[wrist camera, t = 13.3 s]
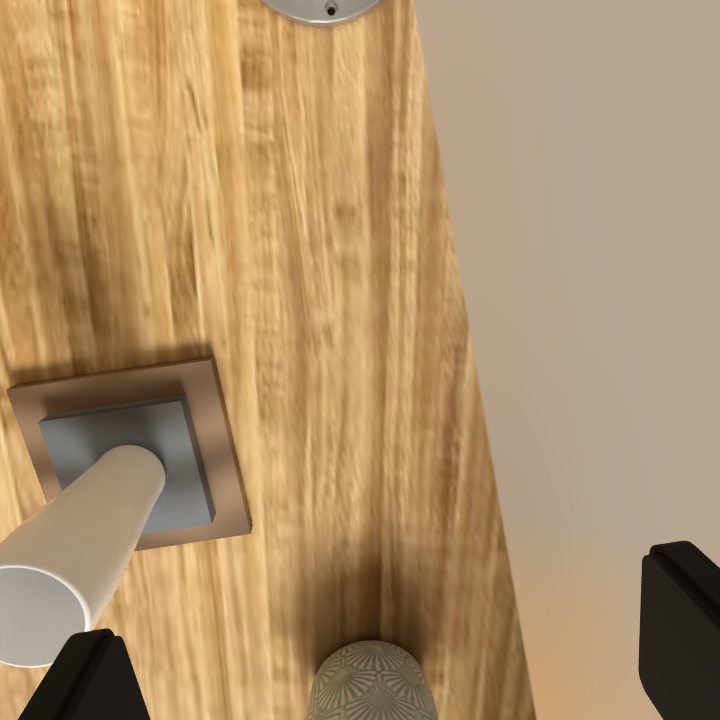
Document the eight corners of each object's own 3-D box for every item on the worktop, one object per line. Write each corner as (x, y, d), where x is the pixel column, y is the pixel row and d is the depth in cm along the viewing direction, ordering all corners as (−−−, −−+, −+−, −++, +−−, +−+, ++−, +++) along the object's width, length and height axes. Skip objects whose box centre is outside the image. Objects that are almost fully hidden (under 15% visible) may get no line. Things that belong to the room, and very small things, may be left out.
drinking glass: (194, 469, 40) (118, 613, 26) (141, 524, 41) (40, 691, 27) (124, 416, 38) (2, 537, 24) (72, 474, 40) (-76, 623, 25)
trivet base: (15, 384, 40) (-7, 396, 37) (213, 355, 40) (205, 365, 38) (74, 552, 45) (58, 573, 42) (252, 525, 45) (247, 544, 42)
